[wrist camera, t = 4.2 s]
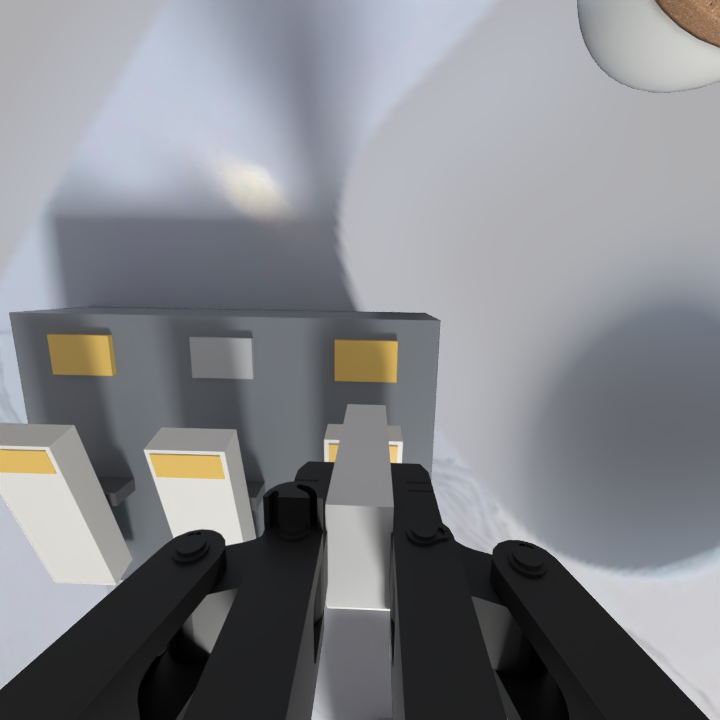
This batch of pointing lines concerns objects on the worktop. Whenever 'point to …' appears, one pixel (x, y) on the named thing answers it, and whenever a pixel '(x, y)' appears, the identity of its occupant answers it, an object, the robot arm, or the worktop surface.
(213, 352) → the switch unit
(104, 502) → the switch
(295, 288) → the worktop surface
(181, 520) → the switch
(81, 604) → the worktop surface
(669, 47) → the lidded jar
